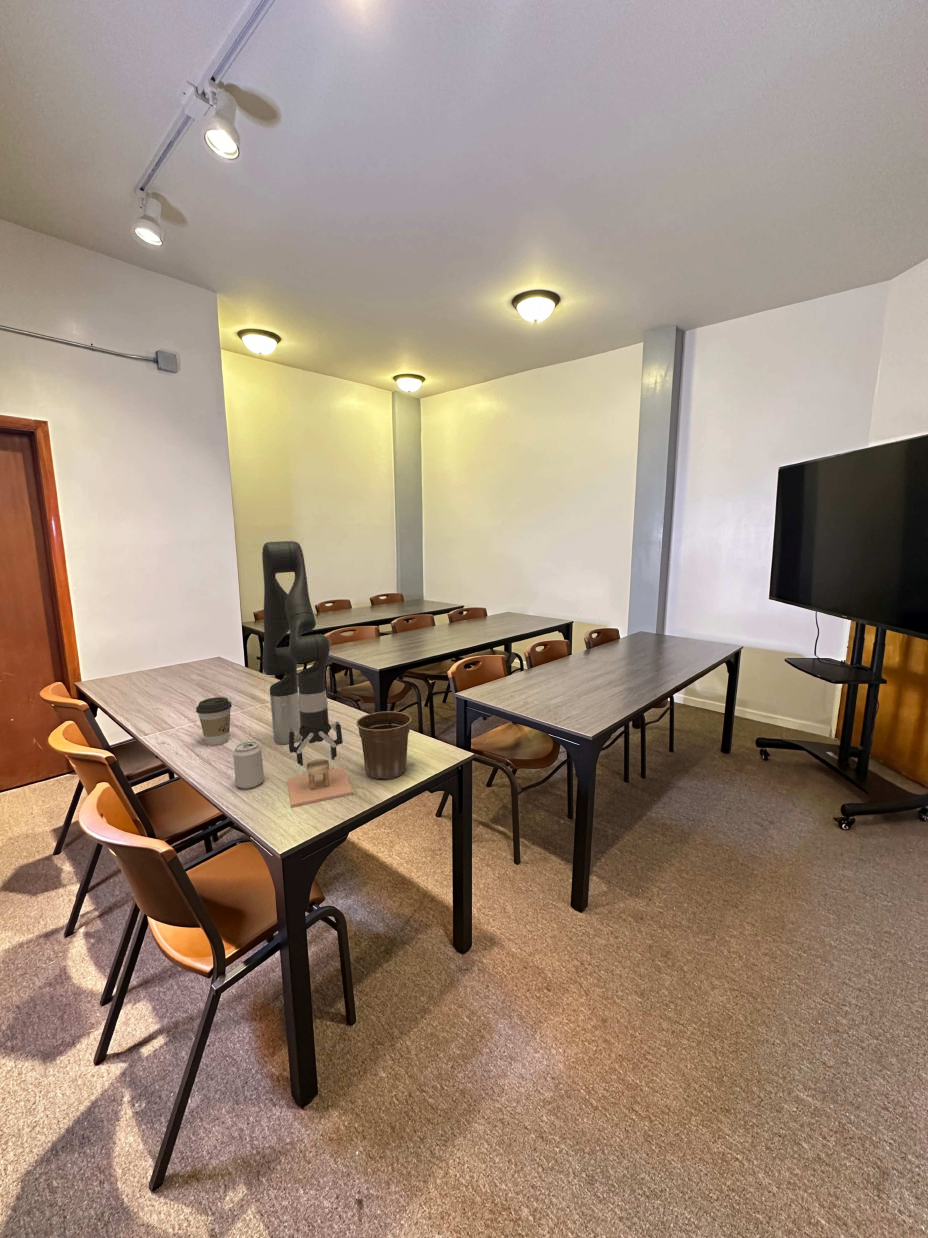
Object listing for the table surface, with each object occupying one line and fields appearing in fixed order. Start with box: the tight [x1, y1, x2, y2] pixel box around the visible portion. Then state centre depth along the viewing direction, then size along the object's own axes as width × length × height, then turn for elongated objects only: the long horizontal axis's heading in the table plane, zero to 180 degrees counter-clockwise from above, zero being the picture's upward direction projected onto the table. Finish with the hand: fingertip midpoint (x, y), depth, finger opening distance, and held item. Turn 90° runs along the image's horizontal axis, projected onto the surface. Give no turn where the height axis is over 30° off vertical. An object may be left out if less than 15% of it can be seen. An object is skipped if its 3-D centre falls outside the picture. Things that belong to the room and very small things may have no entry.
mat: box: [287, 767, 354, 808], centre depth 137 cm, size 16×16×1 cm
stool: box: [306, 758, 330, 790], centre depth 137 cm, size 6×6×6 cm
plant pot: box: [356, 710, 413, 780], centre depth 146 cm, size 16×16×16 cm
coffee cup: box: [195, 696, 233, 747], centre depth 171 cm, size 11×11×15 cm
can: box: [232, 740, 265, 790], centre depth 140 cm, size 8×8×12 cm
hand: (317, 761), depth 136 cm, fingers open, 8 cm apart
